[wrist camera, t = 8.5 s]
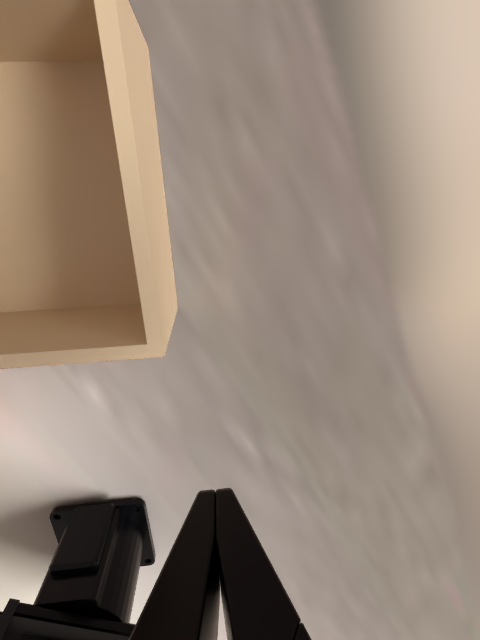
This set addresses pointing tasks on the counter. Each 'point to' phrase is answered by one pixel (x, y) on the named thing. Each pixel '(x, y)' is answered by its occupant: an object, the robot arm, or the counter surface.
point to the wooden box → (80, 188)
